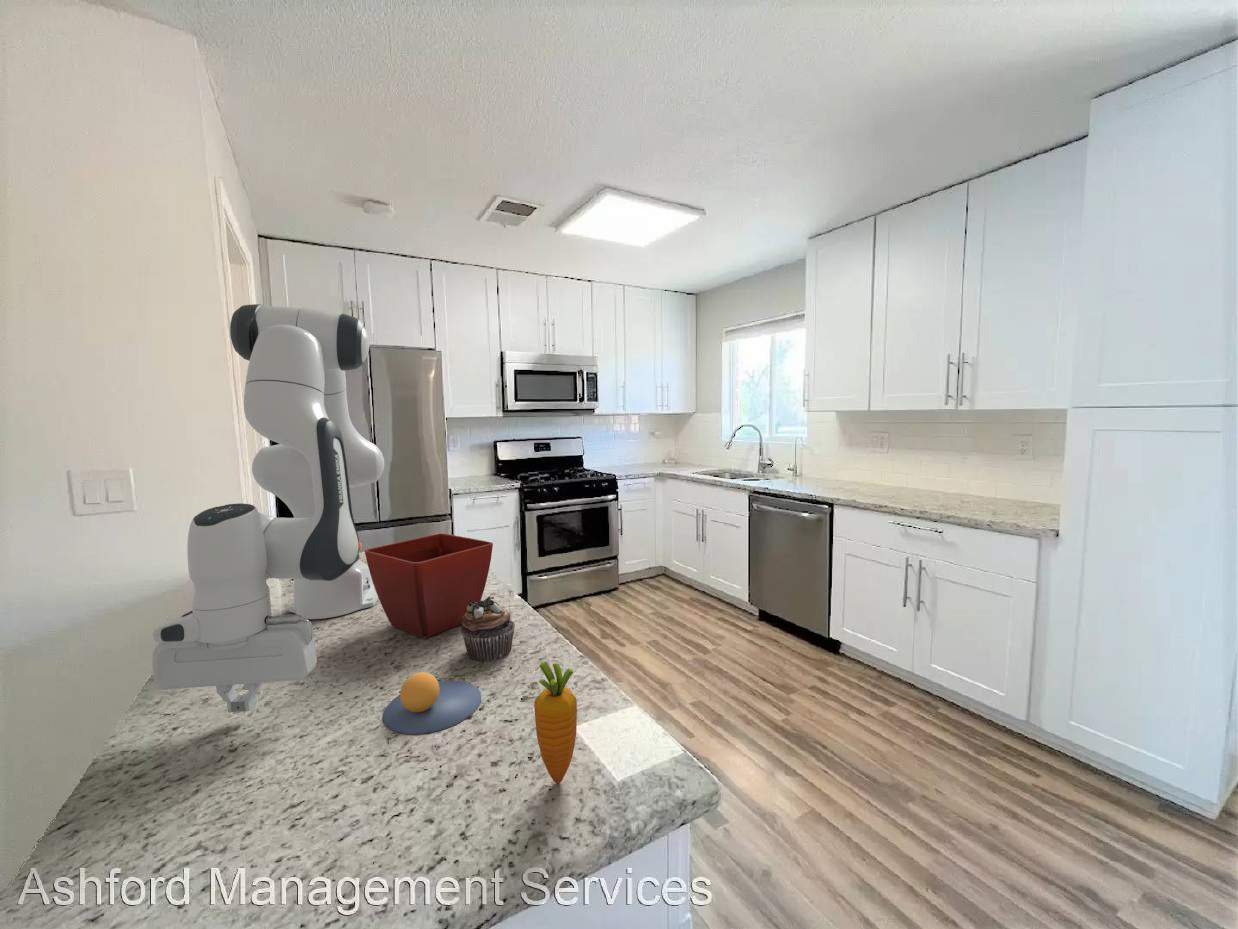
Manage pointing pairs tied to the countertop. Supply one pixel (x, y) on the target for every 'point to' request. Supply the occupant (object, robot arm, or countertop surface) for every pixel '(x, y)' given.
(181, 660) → the robot arm
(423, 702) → the ball
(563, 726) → the carrot
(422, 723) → the disc
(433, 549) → the plant pot
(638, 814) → the countertop surface
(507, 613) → the cupcake
